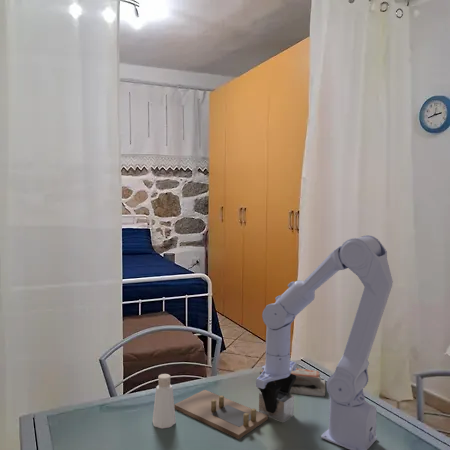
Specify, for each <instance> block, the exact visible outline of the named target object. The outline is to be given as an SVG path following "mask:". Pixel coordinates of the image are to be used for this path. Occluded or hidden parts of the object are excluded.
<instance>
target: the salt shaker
mask: <svg viewBox="0 0 450 450" xmlns="http://www.w3.org/2000/svg"><path fill="white" fill-rule="evenodd" d="M157 378H158V385H157V386H155V395H154V402H153V403H154V405H153V411H152V412H153V413H152V424H153V427H155V428H158V429H168V428H172V426H174V425H175V424H176V423H177V421H176V409H175V408H174V404H175V399H174V389H173V386H172V384H171V375H170V374H168V373H161V374H159V375H158V377H157Z"/></svg>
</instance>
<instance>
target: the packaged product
mask: <svg viewBox="0 0 450 450" xmlns="http://www.w3.org/2000/svg"><path fill="white" fill-rule="evenodd" d="M264 365H265V364H263V365H262V366H264ZM262 372H263V370H262V367H261V368H260V371H259V376H260V375H261V373H262ZM320 373H321V372H320V371H319V370H313V369H306V368H297V367H296V370H295V371H292V372H291V374H294V375H296V380H295V382H294V383H293V385H292V387H291V390H290V393H289V394H297V395H306V396H307V395H308V396H313V397H314V396H315V397H316V396H317V397H325V395H326V379H325V380H321V379H324V377H322V378H321V374H320ZM274 383H275V381H274ZM275 385H276V383H275ZM257 389H259V387H257ZM259 390H260V389H259Z"/></svg>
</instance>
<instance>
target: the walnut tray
mask: <svg viewBox="0 0 450 450" xmlns="http://www.w3.org/2000/svg"><path fill="white" fill-rule="evenodd" d="M174 408H175V411H176V410H177V411H178V412H180V413H182V414H185V415H187V416H189V417H191V418H193V419H195V420H197V421H200V422H202V423H203V424H206V425H208V426H210V427H212V428H214V429H216V430H218V431H221V432H223V433H225V434H227V435H229V436H231V437H234V438H235V439H238V440H240V439H241V438H243V437H244V436H246V435H247V434H249V433H251V432H252V431H253V430H254V429H256V428H257V427H259V426H260V425H262V424H263V423H265V422H266V421H268V420H269V417H268V415H266V414H263V413H261V412H259V410H257V409H256V408H250V407H248V406H246V405H243V404H241V403H239V402H237V401H234V400H231V399H228V398H226V397H225V395H219V394H216V393H214V392H211V391H209V390H207V389H203V390H201V391H199V392H196V393H194V394H193V395H191V396H189V397H187V398H185V399H182V400H181V401H178V402H176V403H174Z"/></svg>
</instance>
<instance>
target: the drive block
mask: <svg viewBox="0 0 450 450" xmlns="http://www.w3.org/2000/svg"><path fill="white" fill-rule="evenodd" d="M258 393H259V394H258V395H259V396H258V412H261V413H263V414H266V415H268V418H271V419H273V420H276V421H279V422H280V423H283V424H284V423H285V422H287V421H288V420H290V419H291V418H292V417H294V413H295V412H294V409H295V395H293V394H292V393H289V394H288V393H285V392H282V391H279V393H278V397H277V402H276V409H275V412H274V413H271V412H268V411H266V408H265V403H264V399H263V396H262V393H261V391H259V392H258Z"/></svg>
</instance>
